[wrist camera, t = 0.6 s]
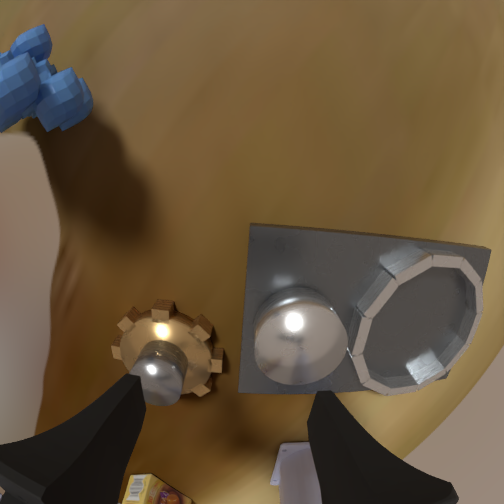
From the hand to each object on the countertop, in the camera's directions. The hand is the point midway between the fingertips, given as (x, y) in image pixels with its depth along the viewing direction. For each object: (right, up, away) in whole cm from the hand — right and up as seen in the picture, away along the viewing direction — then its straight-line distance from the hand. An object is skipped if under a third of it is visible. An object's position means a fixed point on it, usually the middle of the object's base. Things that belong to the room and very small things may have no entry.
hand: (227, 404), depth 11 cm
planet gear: (-5, -1, +10) cm, 12 cm away
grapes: (-12, +18, +5) cm, 22 cm away
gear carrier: (+10, +1, +10) cm, 14 cm away
